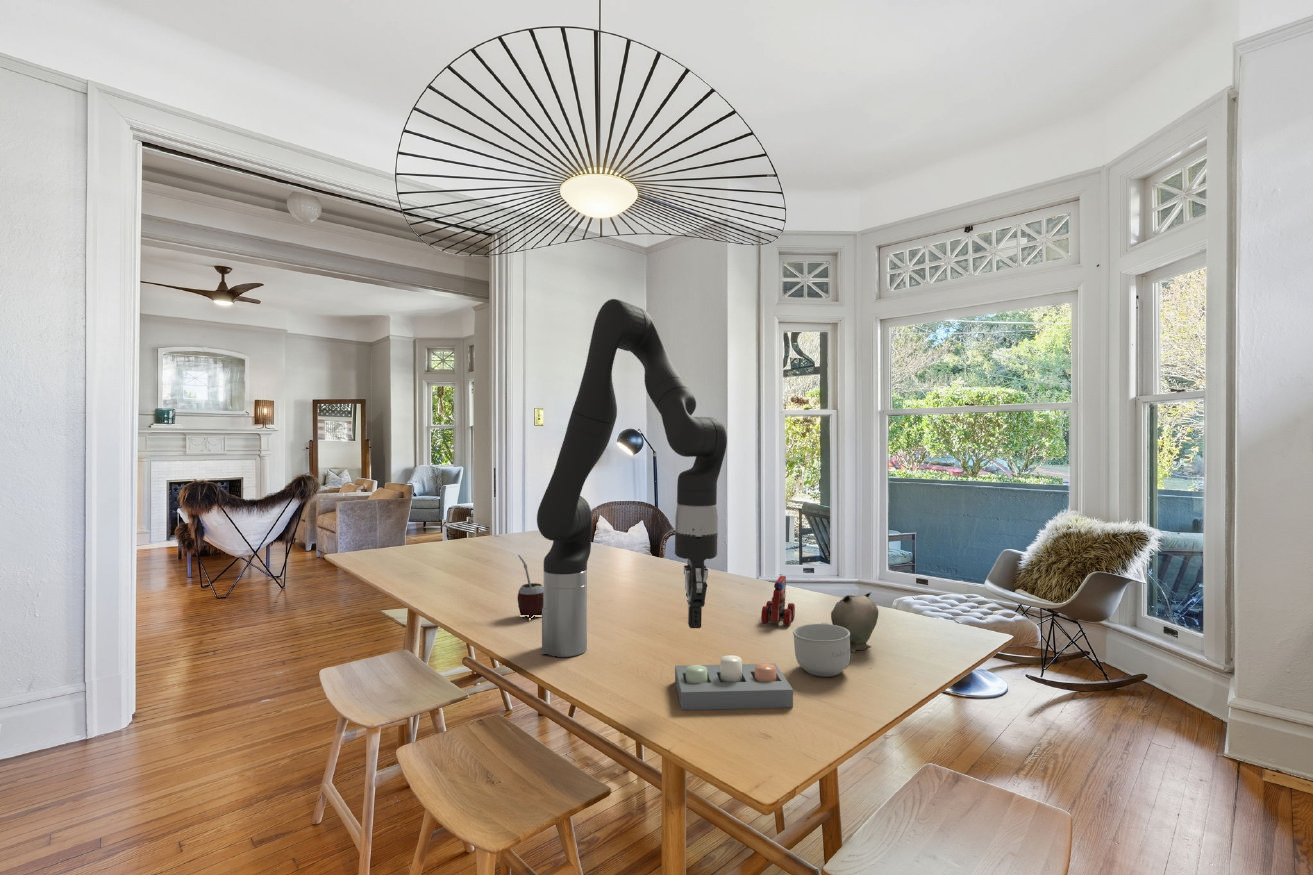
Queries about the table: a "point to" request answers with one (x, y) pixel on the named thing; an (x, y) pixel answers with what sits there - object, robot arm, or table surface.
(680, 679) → the console
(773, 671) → the terracotta button
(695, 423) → the robot arm
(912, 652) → the table surface
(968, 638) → the table surface
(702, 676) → the sage button
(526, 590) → the mate gourd
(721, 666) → the cream button
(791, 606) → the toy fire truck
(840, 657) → the teacup
